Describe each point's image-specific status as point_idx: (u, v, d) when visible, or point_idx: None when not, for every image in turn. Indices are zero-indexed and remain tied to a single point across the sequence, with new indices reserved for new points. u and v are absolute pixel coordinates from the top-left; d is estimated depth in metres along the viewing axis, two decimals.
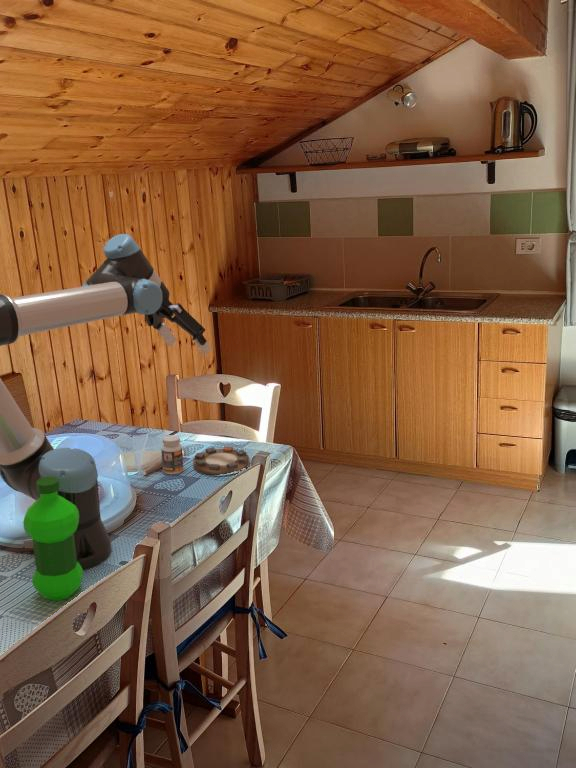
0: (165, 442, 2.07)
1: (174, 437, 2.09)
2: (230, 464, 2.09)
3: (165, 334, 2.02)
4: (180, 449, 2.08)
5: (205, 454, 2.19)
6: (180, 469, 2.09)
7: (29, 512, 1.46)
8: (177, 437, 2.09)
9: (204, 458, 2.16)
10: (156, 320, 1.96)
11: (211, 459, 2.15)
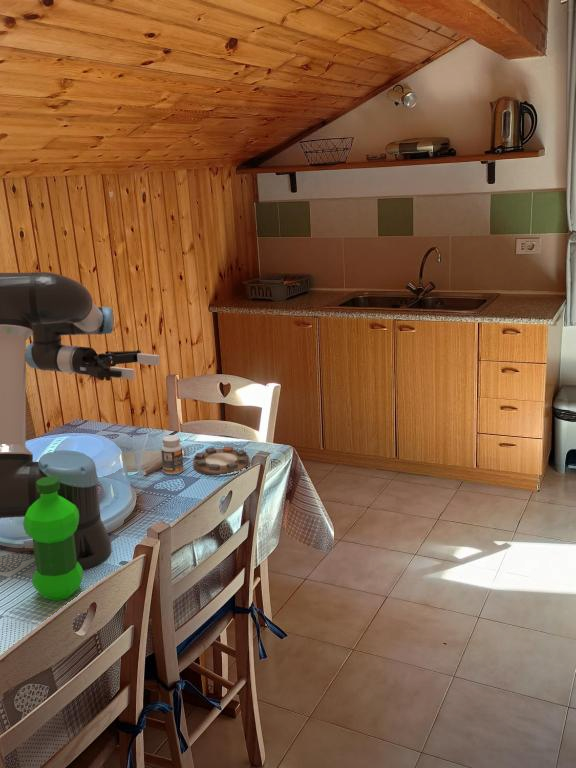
0: (165, 442, 2.07)
1: (174, 437, 2.09)
2: (230, 464, 2.09)
3: None
4: (180, 449, 2.08)
5: (205, 454, 2.19)
6: (180, 469, 2.09)
7: (29, 512, 1.46)
8: (177, 437, 2.09)
9: (204, 458, 2.16)
10: (103, 364, 2.01)
11: (211, 459, 2.15)
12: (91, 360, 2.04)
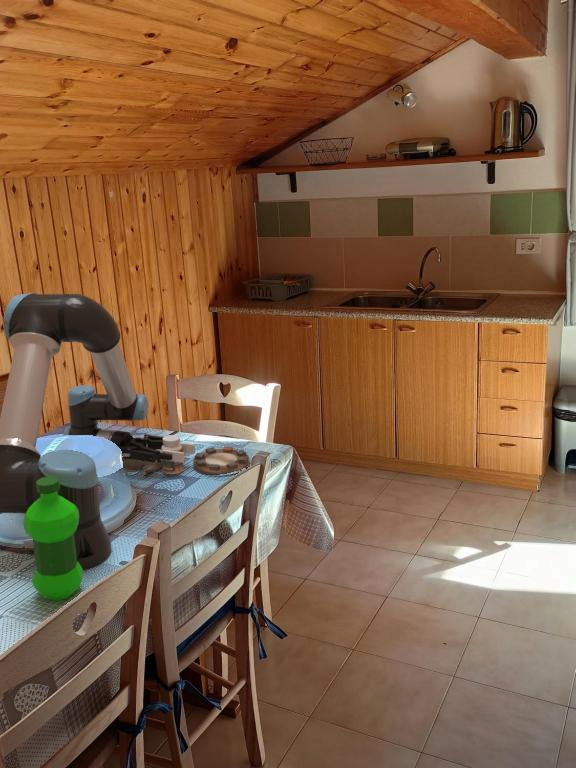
0: (165, 442, 2.07)
1: (174, 437, 2.09)
2: (230, 464, 2.09)
3: None
4: (180, 449, 2.08)
5: (205, 454, 2.19)
6: (180, 468, 2.09)
7: (29, 512, 1.46)
8: (177, 437, 2.09)
9: (204, 458, 2.16)
10: (147, 447, 2.09)
11: (211, 459, 2.15)
12: (127, 445, 2.11)
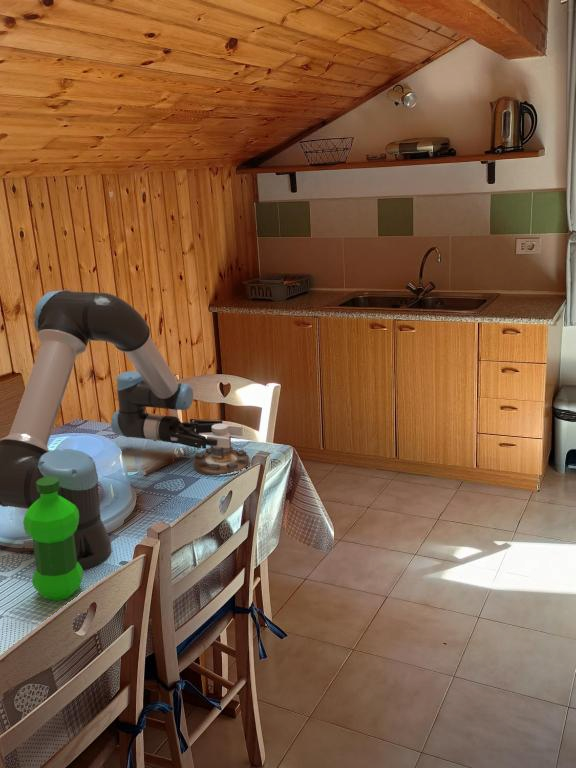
0: (214, 430, 2.10)
1: (222, 425, 2.12)
2: (230, 464, 2.09)
3: None
4: (229, 437, 2.12)
5: (205, 454, 2.19)
6: (228, 456, 2.13)
7: (29, 512, 1.46)
8: (225, 425, 2.12)
9: (204, 458, 2.16)
10: (194, 432, 2.11)
11: (211, 459, 2.15)
12: (176, 429, 2.14)
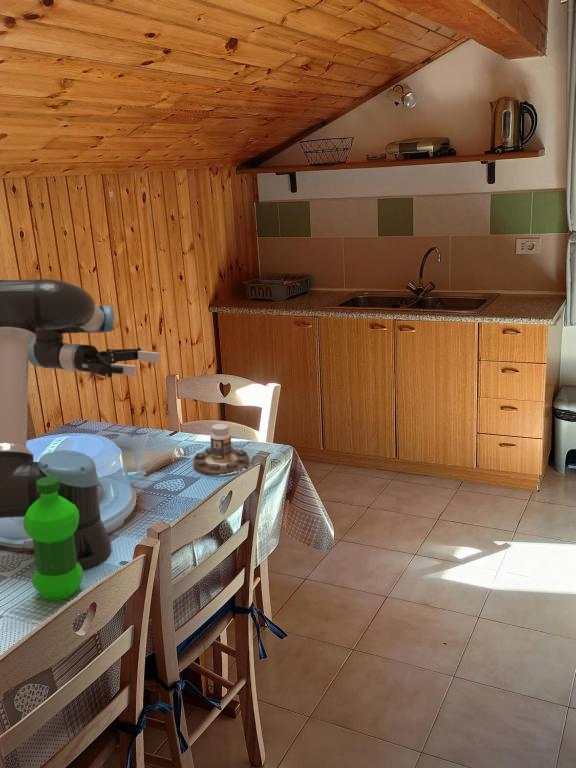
0: (215, 430, 2.10)
1: (223, 425, 2.12)
2: (230, 464, 2.09)
3: None
4: (229, 437, 2.12)
5: (205, 454, 2.19)
6: (228, 456, 2.13)
7: (29, 512, 1.46)
8: (226, 425, 2.12)
9: (204, 458, 2.16)
10: (104, 360, 2.05)
11: (211, 459, 2.15)
12: (93, 357, 2.08)
